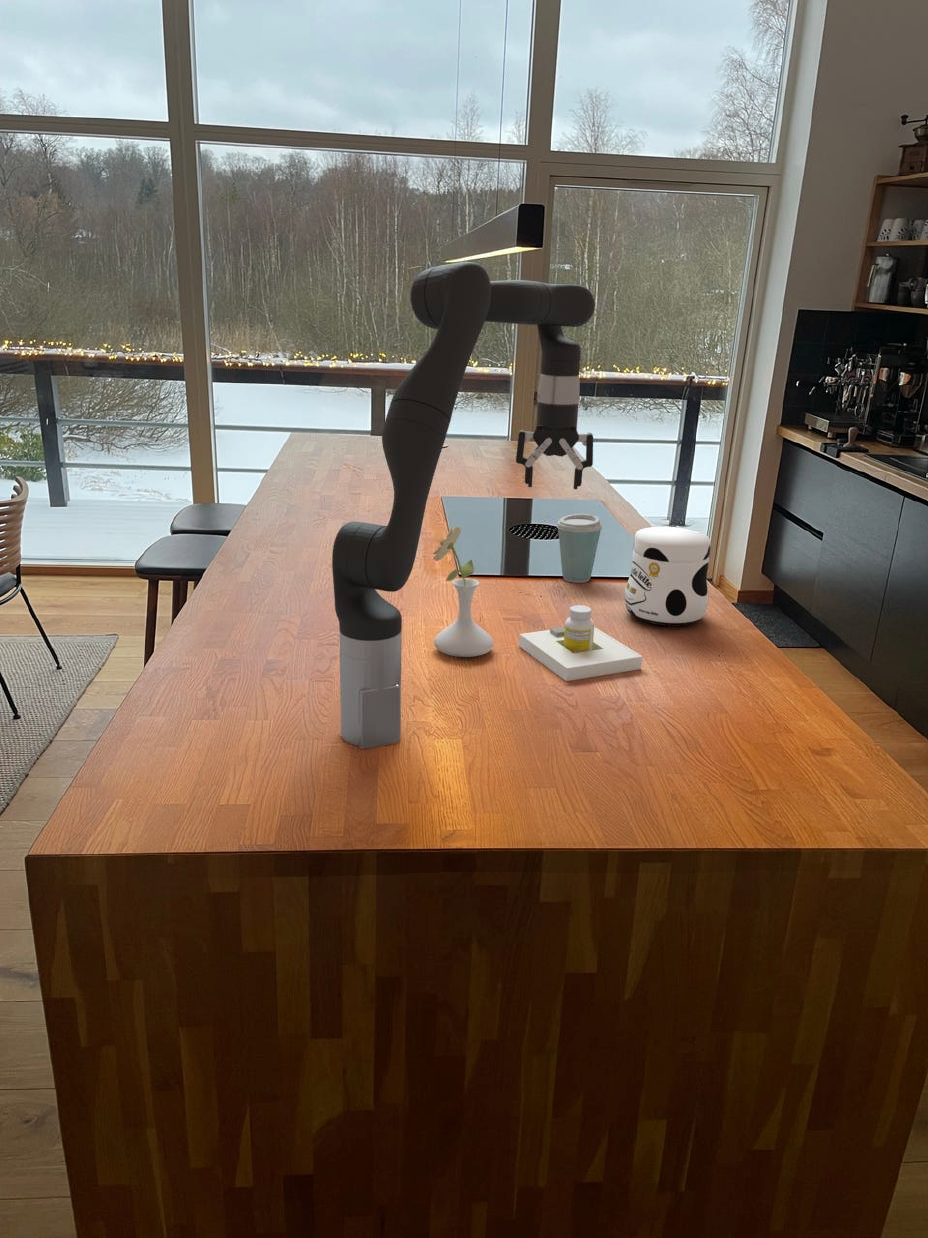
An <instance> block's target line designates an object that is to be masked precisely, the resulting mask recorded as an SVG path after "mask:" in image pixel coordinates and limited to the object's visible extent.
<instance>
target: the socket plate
mask: <svg viewBox="0 0 928 1238" xmlns="http://www.w3.org/2000/svg"><path fill="white" fill-rule="evenodd" d="M564 637H565V626H559V627H553V628H552V627H551V628H550V629H547V630H540V631H539V630H538V631H532V632H525V633H519V637H518V638H519V639H518V640H519V641H518V647H520V648H521V649H522V650H524V651H525V652H526V653H527V654H529V655H530V656H531V657H533V658H534V659H536V661H537V662H540V663H541V664H542V665H543V666H545V668H548V669H549V670H550V671H552V672H553V673H554V674H556V675H557V676H558V677H559V678H561V679H562V680H563V681H565V682H569V681H576V680H583V679H589V678H593V677H594V678H595V677H599V676H606V675H612V674H618V673H625V672H631V671H637V670H641V669H642V663H643V656H642V655H641V654H639V653H637V652H636V651H634V650H633V649H631V648H629V647H628V646H626V645H625V644H623V643H622V642H620V641H618V640H617V639H615V638H613V637H612V636H610V635H609V634H607V633H605V632H603V631H602V630H600V629H599V628H597V627H595V626H594V636H593V651H586V652H579V653H572V652H571V651H569V650H568V649H566V648H565V647H564Z"/></svg>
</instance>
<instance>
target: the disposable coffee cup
mask: <svg viewBox="0 0 928 1238" xmlns="http://www.w3.org/2000/svg"><path fill="white" fill-rule="evenodd" d="M602 525H603V524H602V523H601V519H600V517H599V516H596V515H593V514H590V513H589V514H587V513H573V514H570V515H564V516H563V517H561V518H559V520H557V524H556V528H557V530H558V540H559V542H558V543H559V552H560V562H561V572H562V577H563V580H564V581H566V582H569V583H575V584H577V583H578V584H579V583H580V584H582V583H587V582H590V579H591V577H592V573H593V568H594V565H595V563H594V562H595V558H596V556H597V555H596V554H597V551H598V550H597V549H598V546H599V545H598V544H599V541H600V537H601V535H600V534H601V530H603V526H602Z"/></svg>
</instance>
